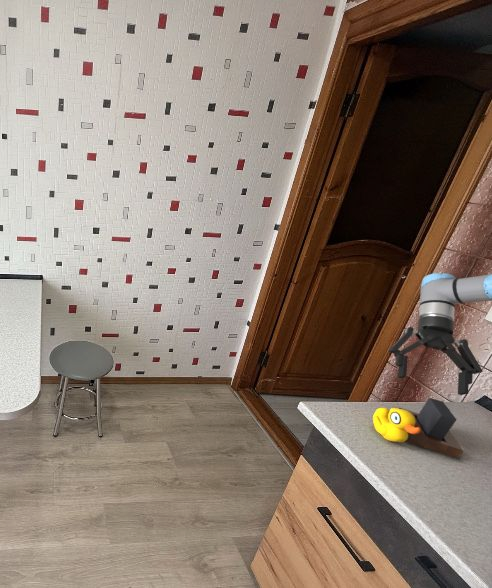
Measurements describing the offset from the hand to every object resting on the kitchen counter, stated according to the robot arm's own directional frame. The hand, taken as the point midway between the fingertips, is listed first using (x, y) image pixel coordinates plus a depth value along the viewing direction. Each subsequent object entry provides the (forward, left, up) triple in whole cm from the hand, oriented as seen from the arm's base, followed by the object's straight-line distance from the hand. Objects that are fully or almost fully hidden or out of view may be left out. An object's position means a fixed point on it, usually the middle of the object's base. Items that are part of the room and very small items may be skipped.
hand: (431, 385), depth 96 cm
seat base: (-2, +9, -11) cm, 15 cm away
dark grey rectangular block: (-2, +9, -11) cm, 15 cm away
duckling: (+6, +18, -12) cm, 22 cm away
